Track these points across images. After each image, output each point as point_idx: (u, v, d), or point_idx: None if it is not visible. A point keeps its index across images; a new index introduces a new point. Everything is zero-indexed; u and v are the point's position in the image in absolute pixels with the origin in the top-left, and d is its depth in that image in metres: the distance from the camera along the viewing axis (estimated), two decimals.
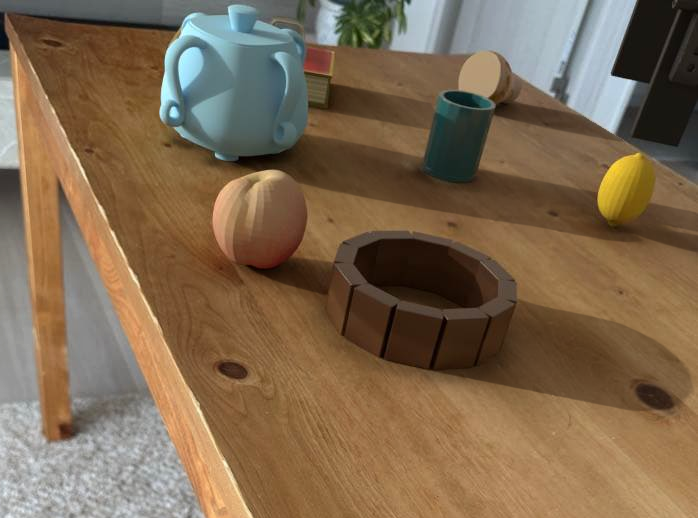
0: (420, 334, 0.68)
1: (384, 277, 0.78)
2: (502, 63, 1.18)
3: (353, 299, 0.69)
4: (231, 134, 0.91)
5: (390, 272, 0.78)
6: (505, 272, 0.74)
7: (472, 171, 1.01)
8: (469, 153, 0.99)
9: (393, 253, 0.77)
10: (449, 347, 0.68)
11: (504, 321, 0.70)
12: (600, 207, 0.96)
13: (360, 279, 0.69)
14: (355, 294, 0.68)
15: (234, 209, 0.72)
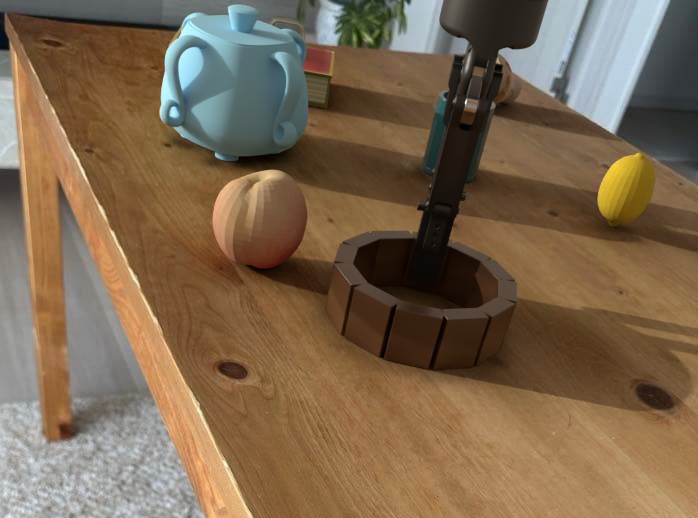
0: (420, 334, 0.68)
1: (384, 277, 0.78)
2: (502, 63, 1.18)
3: (353, 299, 0.69)
4: (231, 134, 0.91)
5: (390, 272, 0.78)
6: (505, 272, 0.74)
7: (472, 171, 1.01)
8: None
9: (393, 253, 0.77)
10: (449, 347, 0.68)
11: (504, 321, 0.70)
12: (600, 207, 0.96)
13: (360, 279, 0.69)
14: (355, 294, 0.68)
15: (234, 209, 0.72)
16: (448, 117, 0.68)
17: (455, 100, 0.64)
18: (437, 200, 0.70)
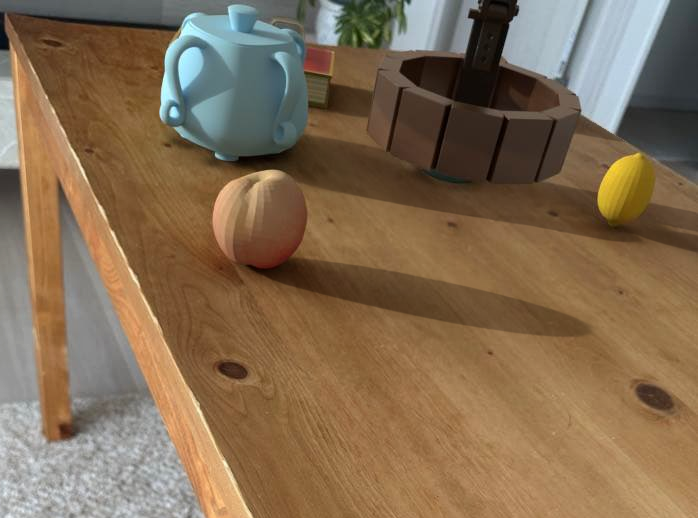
0: (477, 138, 0.61)
1: None
2: None
3: (401, 104, 0.62)
4: (231, 134, 0.91)
5: None
6: (564, 88, 0.67)
7: None
8: None
9: (439, 75, 0.70)
10: (509, 155, 0.62)
11: (567, 132, 0.63)
12: (600, 207, 0.96)
13: (408, 83, 0.62)
14: (403, 97, 0.61)
15: (234, 209, 0.72)
16: None
17: None
18: None
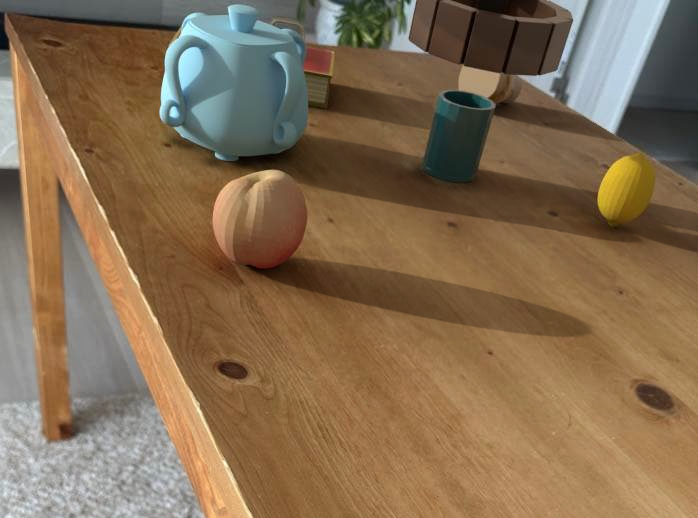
0: (496, 37, 0.81)
1: None
2: None
3: (438, 12, 0.82)
4: (231, 134, 0.91)
5: None
6: (560, 6, 0.88)
7: (472, 171, 1.01)
8: (469, 153, 0.99)
9: None
10: (519, 51, 0.82)
11: (562, 36, 0.84)
12: (600, 207, 0.96)
13: None
14: (440, 7, 0.82)
15: (234, 209, 0.72)
16: None
17: None
18: None
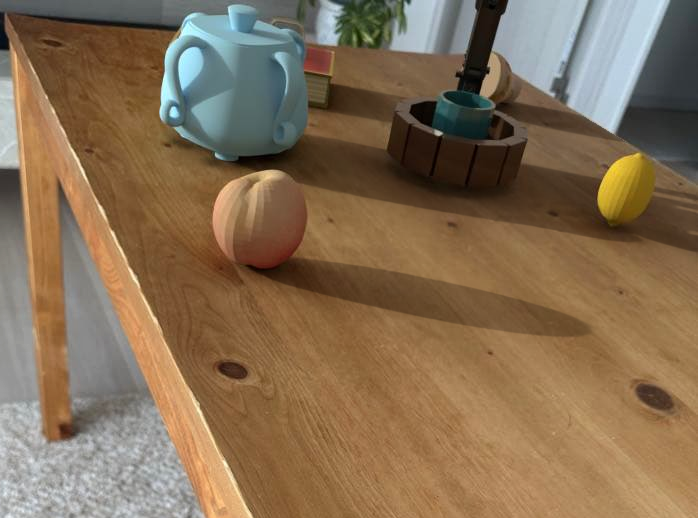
0: (459, 157, 0.95)
1: None
2: (502, 63, 1.18)
3: (410, 134, 0.96)
4: (231, 134, 0.91)
5: None
6: (519, 123, 1.01)
7: None
8: None
9: None
10: (479, 168, 0.95)
11: (518, 153, 0.97)
12: (600, 207, 0.96)
13: (415, 121, 0.96)
14: (411, 130, 0.95)
15: (234, 209, 0.72)
16: (479, 3, 0.95)
17: None
18: (470, 65, 0.97)
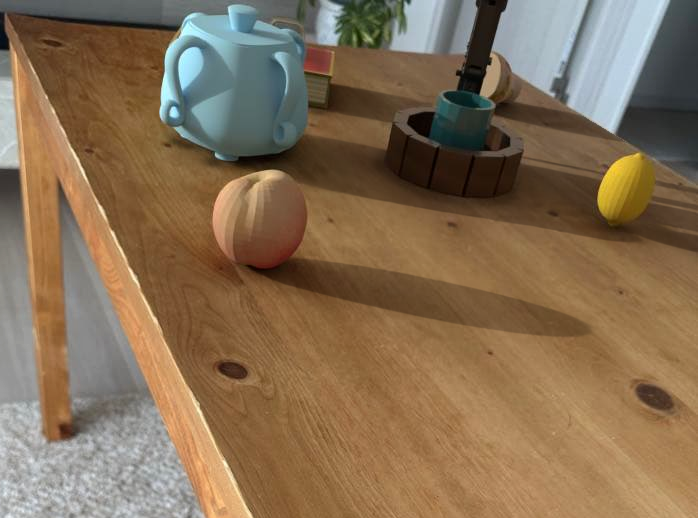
0: (456, 168, 0.96)
1: None
2: (502, 63, 1.18)
3: (408, 145, 0.97)
4: (231, 134, 0.91)
5: None
6: (515, 134, 1.02)
7: None
8: None
9: None
10: (476, 179, 0.97)
11: (514, 163, 0.99)
12: (600, 207, 0.96)
13: (412, 132, 0.98)
14: (409, 141, 0.97)
15: (234, 209, 0.72)
16: (479, 0, 0.96)
17: None
18: (471, 63, 0.97)
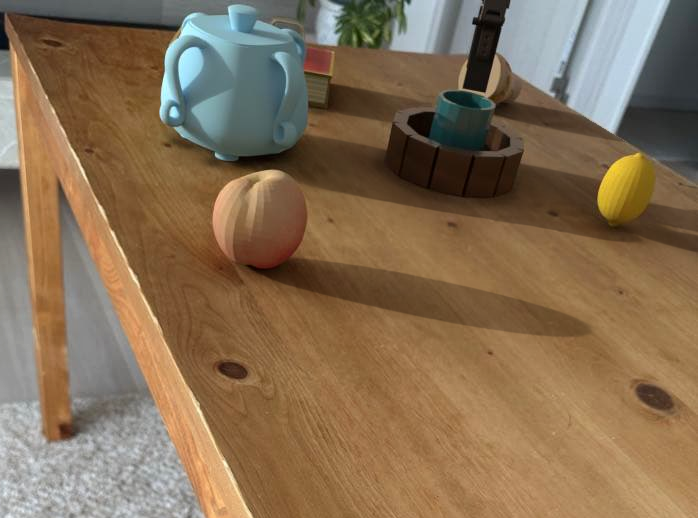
0: (456, 168, 0.96)
1: None
2: (502, 63, 1.18)
3: (408, 145, 0.97)
4: (231, 134, 0.91)
5: None
6: (515, 134, 1.02)
7: None
8: None
9: None
10: (476, 179, 0.97)
11: (514, 163, 0.99)
12: (600, 207, 0.96)
13: (412, 132, 0.98)
14: (409, 141, 0.97)
15: (234, 209, 0.72)
16: None
17: None
18: (489, 8, 0.92)
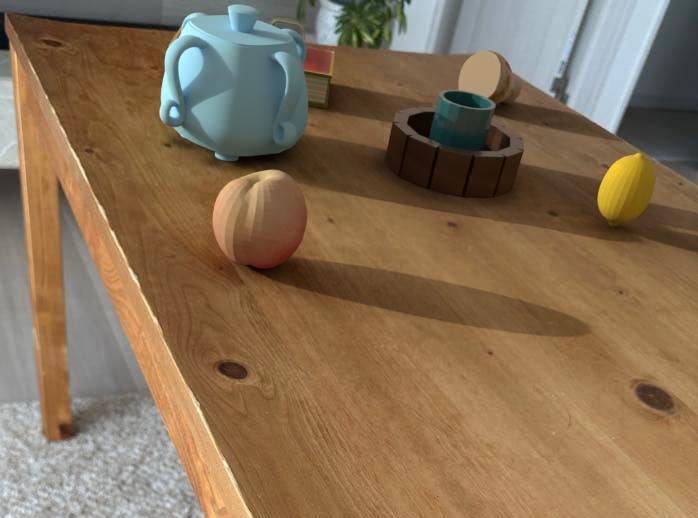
0: (456, 168, 0.96)
1: None
2: (502, 63, 1.18)
3: (408, 145, 0.97)
4: (231, 134, 0.91)
5: None
6: (515, 134, 1.02)
7: None
8: None
9: None
10: (476, 179, 0.97)
11: (514, 163, 0.99)
12: (600, 207, 0.96)
13: (412, 132, 0.98)
14: (409, 141, 0.97)
15: (234, 209, 0.72)
16: None
17: None
18: None
